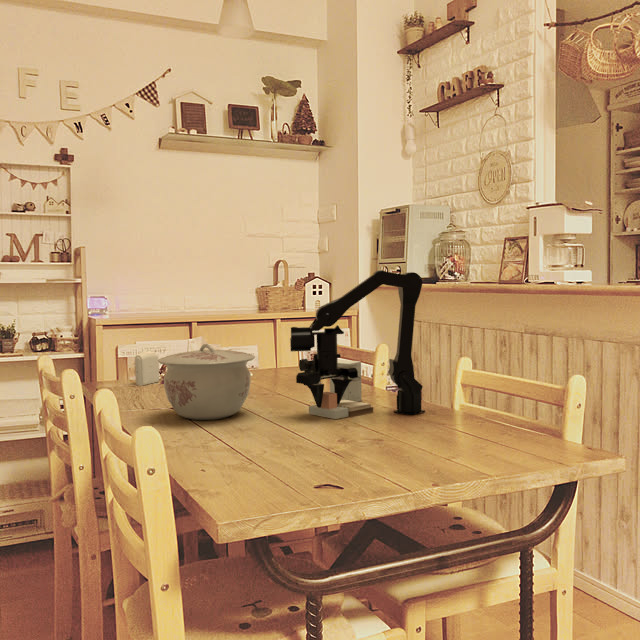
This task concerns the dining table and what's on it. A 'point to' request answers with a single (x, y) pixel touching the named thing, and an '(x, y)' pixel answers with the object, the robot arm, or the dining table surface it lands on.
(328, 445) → the dining table surface
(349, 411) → the pad
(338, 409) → the stub
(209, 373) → the chamber pot
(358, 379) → the supplement box
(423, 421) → the dining table surface
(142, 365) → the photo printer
